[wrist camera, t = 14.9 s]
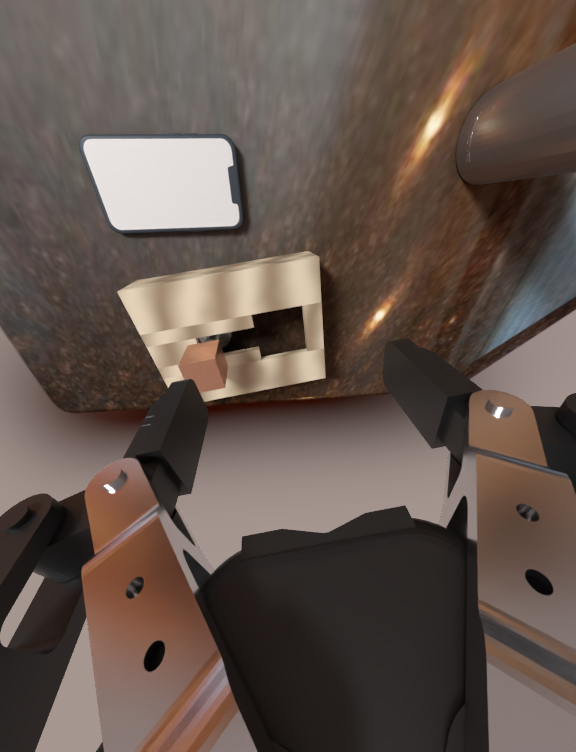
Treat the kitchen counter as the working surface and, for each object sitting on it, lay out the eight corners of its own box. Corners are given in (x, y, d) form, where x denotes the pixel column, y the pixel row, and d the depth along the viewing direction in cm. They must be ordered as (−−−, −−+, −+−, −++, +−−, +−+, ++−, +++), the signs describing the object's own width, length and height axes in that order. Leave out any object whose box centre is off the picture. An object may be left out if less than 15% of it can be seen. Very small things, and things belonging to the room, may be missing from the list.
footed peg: (226, 312, 37) (217, 354, 26) (235, 341, 39) (230, 390, 28) (194, 318, 36) (171, 362, 25) (205, 347, 39) (188, 398, 28)
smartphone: (117, 234, 30) (245, 229, 31) (111, 235, 29) (244, 230, 30) (81, 136, 25) (234, 136, 26) (71, 132, 24) (233, 132, 25)
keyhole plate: (308, 251, 34) (319, 256, 29) (316, 359, 44) (325, 377, 39) (136, 280, 32) (117, 291, 28) (186, 384, 43) (178, 406, 38)
